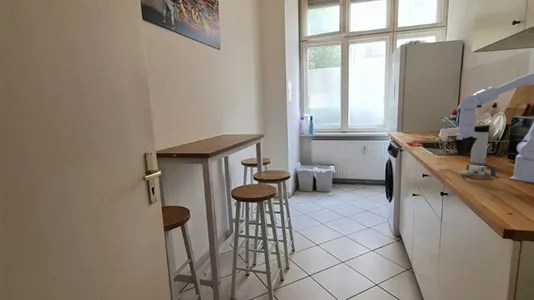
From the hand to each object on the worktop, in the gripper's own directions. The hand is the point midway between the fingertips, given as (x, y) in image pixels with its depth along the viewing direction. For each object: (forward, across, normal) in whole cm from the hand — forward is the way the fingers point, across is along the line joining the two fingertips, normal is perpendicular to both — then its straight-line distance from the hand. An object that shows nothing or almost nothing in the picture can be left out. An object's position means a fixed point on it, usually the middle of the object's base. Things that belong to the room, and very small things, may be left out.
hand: (463, 154), depth 129 cm
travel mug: (+9, -27, -2) cm, 29 cm away
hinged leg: (+7, -2, +5) cm, 9 cm away
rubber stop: (+9, -6, +10) cm, 15 cm away
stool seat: (+9, +1, +5) cm, 10 cm away
